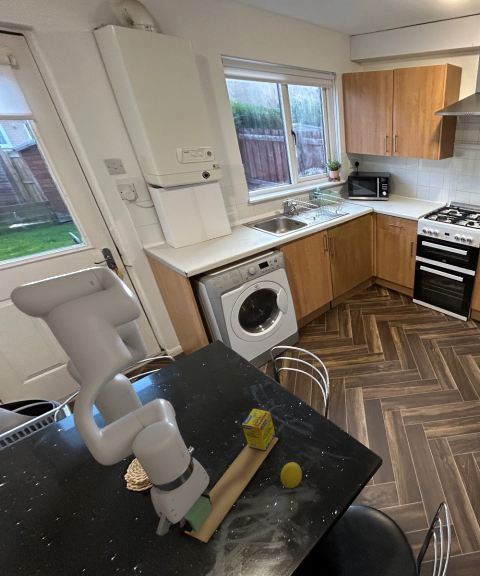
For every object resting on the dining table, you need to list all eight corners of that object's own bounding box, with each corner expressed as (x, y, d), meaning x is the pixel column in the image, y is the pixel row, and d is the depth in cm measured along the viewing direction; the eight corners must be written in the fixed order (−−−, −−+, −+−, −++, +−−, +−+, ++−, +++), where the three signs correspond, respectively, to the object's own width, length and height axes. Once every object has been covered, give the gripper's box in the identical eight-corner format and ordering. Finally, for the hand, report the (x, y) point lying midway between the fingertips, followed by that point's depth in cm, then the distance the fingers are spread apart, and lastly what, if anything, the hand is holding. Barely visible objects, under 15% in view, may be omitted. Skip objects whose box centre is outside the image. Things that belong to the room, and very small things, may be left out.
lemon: (285, 498, 83) (281, 480, 79) (281, 479, 87) (276, 462, 83) (305, 488, 85) (302, 471, 81) (300, 470, 89) (297, 453, 86)
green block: (180, 524, 73) (173, 513, 71) (197, 502, 78) (191, 491, 75) (197, 532, 72) (190, 521, 70) (213, 509, 76) (208, 498, 74)
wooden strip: (180, 530, 76) (180, 530, 76) (257, 431, 100) (257, 431, 100) (206, 543, 74) (206, 542, 74) (278, 438, 98) (278, 438, 98)
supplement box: (266, 452, 94) (259, 428, 89) (248, 448, 95) (241, 424, 90) (276, 434, 99) (270, 411, 94) (259, 431, 100) (252, 408, 95)
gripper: (192, 432, 74) (211, 477, 83) (119, 507, 60) (152, 551, 69) (217, 441, 72) (234, 486, 81) (148, 521, 58) (178, 564, 67)
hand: (196, 515), depth 75 cm, fingers closed on green block, 5 cm apart
